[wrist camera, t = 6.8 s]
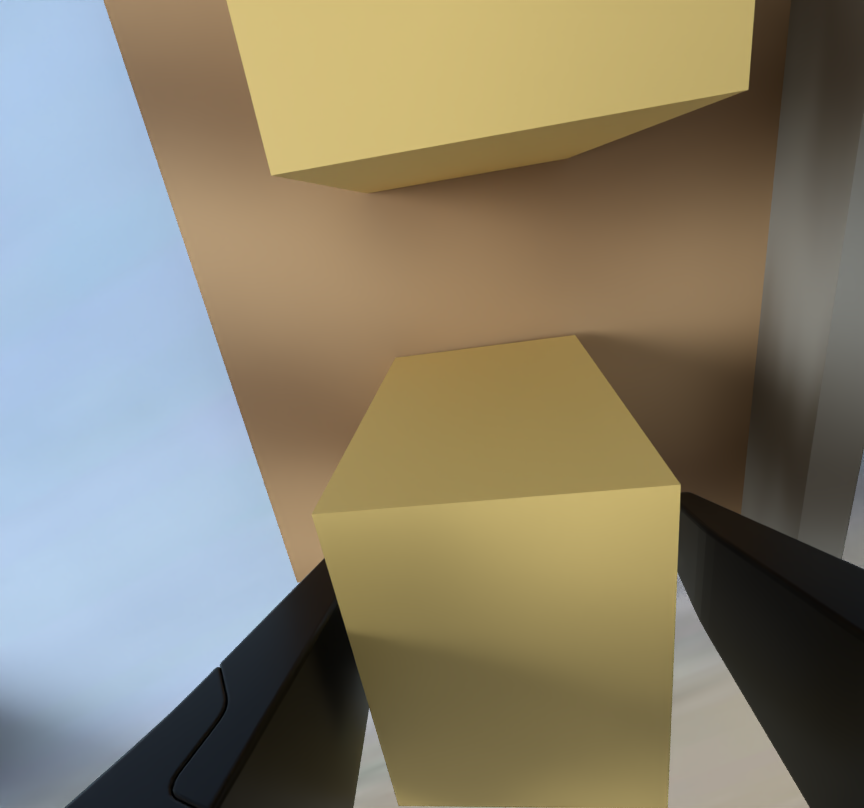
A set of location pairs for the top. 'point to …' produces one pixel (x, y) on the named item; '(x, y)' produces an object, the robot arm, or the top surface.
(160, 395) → the top surface
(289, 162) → the tea box
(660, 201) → the shelf board
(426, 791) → the tea box turned
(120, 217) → the top surface
